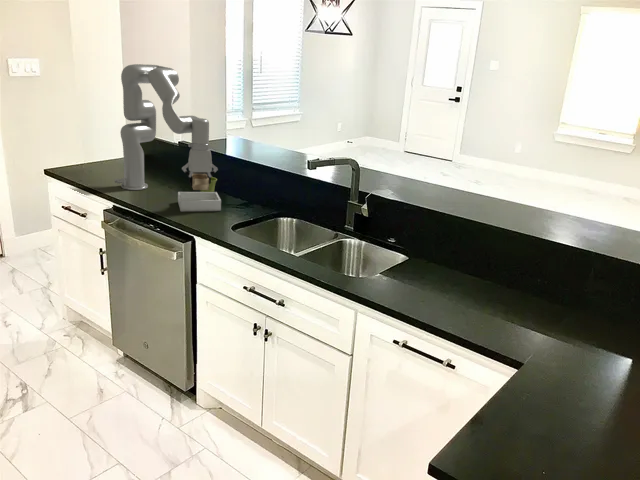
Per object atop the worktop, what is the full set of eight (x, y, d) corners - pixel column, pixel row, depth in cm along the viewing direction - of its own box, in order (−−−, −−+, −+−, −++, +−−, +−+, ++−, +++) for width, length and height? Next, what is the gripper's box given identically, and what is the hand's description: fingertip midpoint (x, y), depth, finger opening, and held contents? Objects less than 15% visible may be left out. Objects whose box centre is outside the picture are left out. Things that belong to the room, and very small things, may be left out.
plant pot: (193, 196, 268) (193, 179, 265) (203, 192, 276) (204, 175, 273) (210, 199, 265) (210, 182, 262) (220, 195, 273) (220, 178, 270)
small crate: (193, 190, 244) (193, 179, 242) (190, 184, 252) (190, 173, 251) (208, 189, 246) (209, 179, 244) (206, 184, 255) (206, 173, 253)
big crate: (180, 211, 243) (180, 200, 242) (177, 202, 256) (177, 192, 254) (220, 211, 249) (221, 200, 248) (216, 202, 262) (216, 192, 260)
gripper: (181, 147, 237) (181, 187, 243) (221, 148, 242) (220, 187, 248) (179, 144, 243) (179, 183, 249) (218, 145, 249) (217, 183, 255)
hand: (199, 185), depth 249 cm, fingers closed on small crate, 7 cm apart
